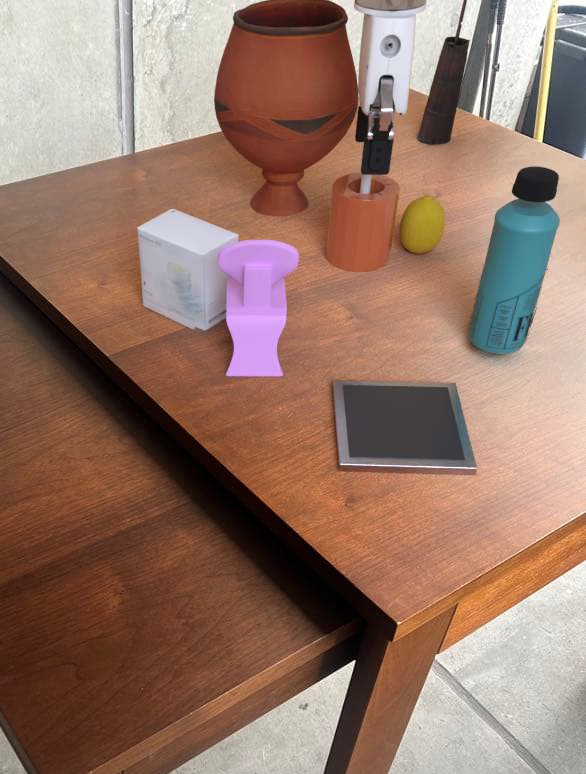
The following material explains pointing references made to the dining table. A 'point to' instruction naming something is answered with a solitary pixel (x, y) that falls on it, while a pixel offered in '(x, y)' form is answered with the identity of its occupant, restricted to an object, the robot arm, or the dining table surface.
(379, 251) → the pen cup
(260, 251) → the toy chair
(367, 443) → the tablet
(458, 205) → the dining table surface
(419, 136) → the butter churn
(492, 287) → the beverage bottle
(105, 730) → the dining table surface
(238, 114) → the goblet
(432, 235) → the lemon
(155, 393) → the dining table surface
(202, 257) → the cosmetics box
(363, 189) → the stylus
